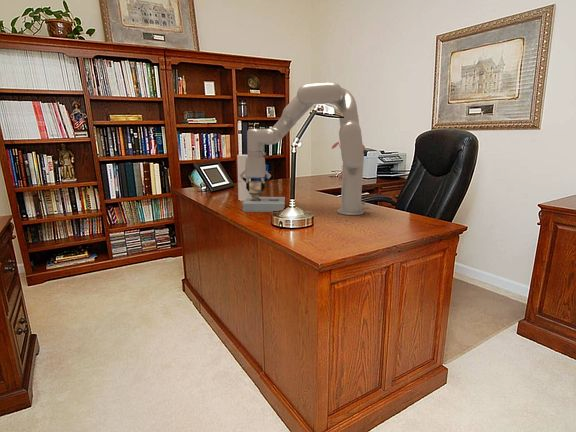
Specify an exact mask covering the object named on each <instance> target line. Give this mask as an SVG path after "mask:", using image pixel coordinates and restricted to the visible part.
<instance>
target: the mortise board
mask: <svg viewBox="0 0 576 432" xmlns="http://www.w3.org/2000/svg"><path fill="white" fill-rule="evenodd" d="M242 202H243V203H242V212H247V213H248V212H249V213H250V212H252V213H253V212H255V213H274V212H273V211H279V210H283V209H284V208H285V207H286V206H285V205H286V197H285V196H259V201H253V200H252V196H251V197H247V198H246V199H245V201H242ZM284 210H285V209H284Z"/></svg>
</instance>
